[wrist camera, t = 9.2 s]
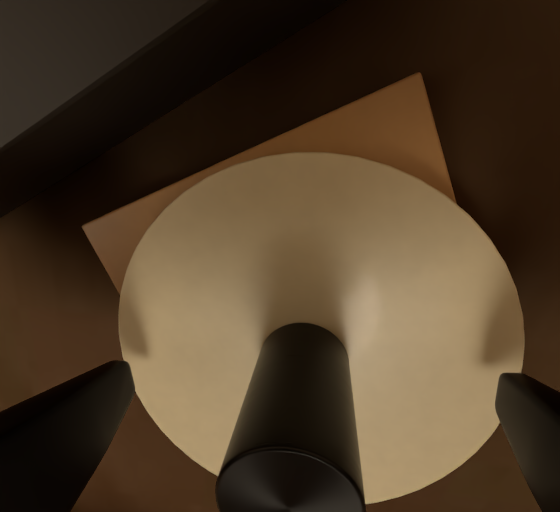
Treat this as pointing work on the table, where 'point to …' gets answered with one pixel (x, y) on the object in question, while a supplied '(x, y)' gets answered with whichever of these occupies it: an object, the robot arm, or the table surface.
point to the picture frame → (115, 72)
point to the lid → (319, 331)
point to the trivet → (306, 138)
